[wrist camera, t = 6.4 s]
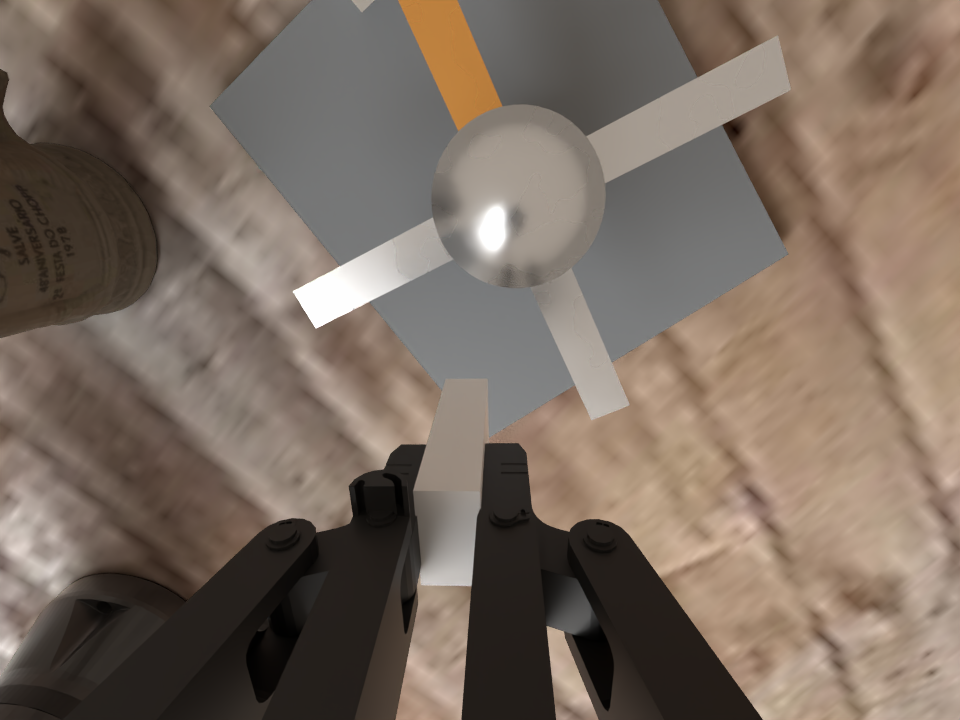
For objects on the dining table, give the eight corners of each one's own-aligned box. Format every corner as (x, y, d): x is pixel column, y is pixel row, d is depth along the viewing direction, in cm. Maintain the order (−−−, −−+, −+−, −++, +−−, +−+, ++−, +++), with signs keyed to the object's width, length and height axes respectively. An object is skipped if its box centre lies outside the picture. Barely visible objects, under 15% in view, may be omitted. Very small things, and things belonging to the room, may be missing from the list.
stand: (484, 430, 34) (469, 576, 21) (224, 110, 27) (-23, 43, 15) (774, 250, 28) (990, 302, 15) (535, -207, 22) (572, -763, 9)
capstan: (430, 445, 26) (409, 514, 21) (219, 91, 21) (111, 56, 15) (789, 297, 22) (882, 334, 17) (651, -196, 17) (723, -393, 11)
